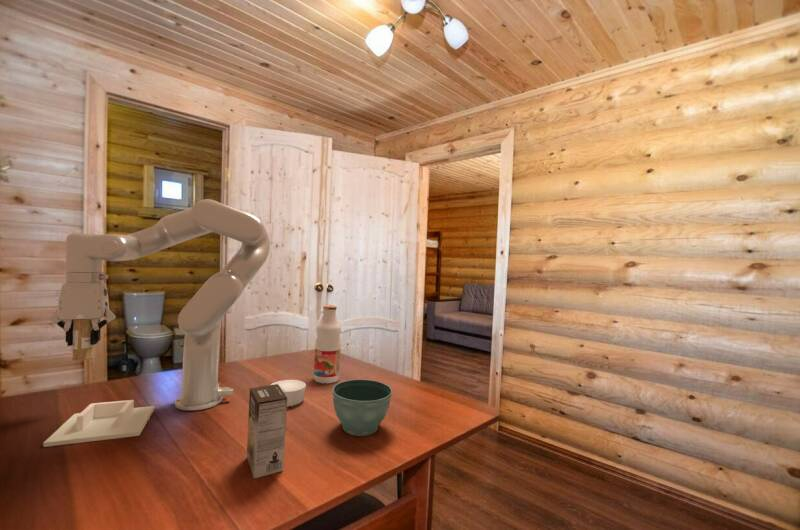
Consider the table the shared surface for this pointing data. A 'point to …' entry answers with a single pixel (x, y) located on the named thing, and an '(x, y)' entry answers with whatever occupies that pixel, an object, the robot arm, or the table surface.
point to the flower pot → (361, 405)
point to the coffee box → (266, 430)
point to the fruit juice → (327, 347)
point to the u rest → (102, 423)
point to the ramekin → (292, 390)
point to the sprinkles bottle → (82, 339)
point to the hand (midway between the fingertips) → (83, 343)
